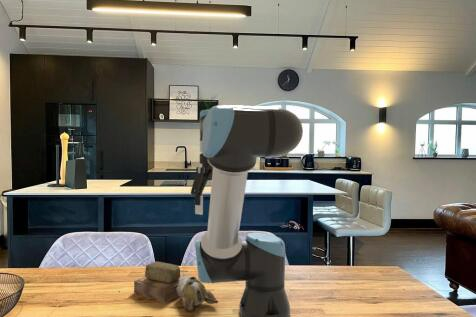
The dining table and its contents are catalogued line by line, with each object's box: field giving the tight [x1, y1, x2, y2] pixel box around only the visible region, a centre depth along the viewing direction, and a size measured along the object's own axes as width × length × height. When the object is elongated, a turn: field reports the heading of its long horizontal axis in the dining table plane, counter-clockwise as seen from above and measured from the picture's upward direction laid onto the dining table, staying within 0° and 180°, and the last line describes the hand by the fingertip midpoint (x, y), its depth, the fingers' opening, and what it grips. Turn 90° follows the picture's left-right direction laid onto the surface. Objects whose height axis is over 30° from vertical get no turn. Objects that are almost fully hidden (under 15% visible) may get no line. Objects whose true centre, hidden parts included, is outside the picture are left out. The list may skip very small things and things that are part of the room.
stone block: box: [144, 261, 181, 283], centre depth 121 cm, size 6×12×5 cm, turn 65°
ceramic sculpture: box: [177, 273, 219, 312], centre depth 112 cm, size 11×9×15 cm
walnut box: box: [133, 275, 183, 304], centre depth 121 cm, size 14×12×4 cm
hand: (209, 211), depth 130 cm, fingers open, 13 cm apart
